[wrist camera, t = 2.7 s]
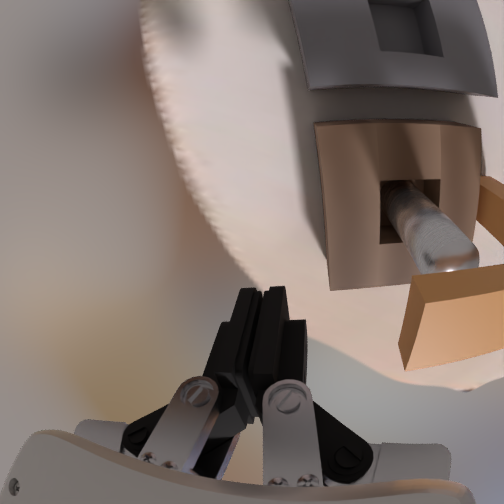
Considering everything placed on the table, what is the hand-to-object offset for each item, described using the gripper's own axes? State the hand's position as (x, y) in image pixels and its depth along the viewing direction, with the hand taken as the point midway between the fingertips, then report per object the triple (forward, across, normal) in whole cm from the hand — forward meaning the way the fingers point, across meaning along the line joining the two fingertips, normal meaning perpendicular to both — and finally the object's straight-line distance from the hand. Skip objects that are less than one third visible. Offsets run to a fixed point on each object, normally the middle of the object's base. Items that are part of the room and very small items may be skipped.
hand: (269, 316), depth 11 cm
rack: (+13, -10, -13) cm, 21 cm away
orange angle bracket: (+13, -12, 0) cm, 18 cm away
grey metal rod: (+12, -9, 0) cm, 15 cm away
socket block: (+13, -9, 0) cm, 16 cm away
